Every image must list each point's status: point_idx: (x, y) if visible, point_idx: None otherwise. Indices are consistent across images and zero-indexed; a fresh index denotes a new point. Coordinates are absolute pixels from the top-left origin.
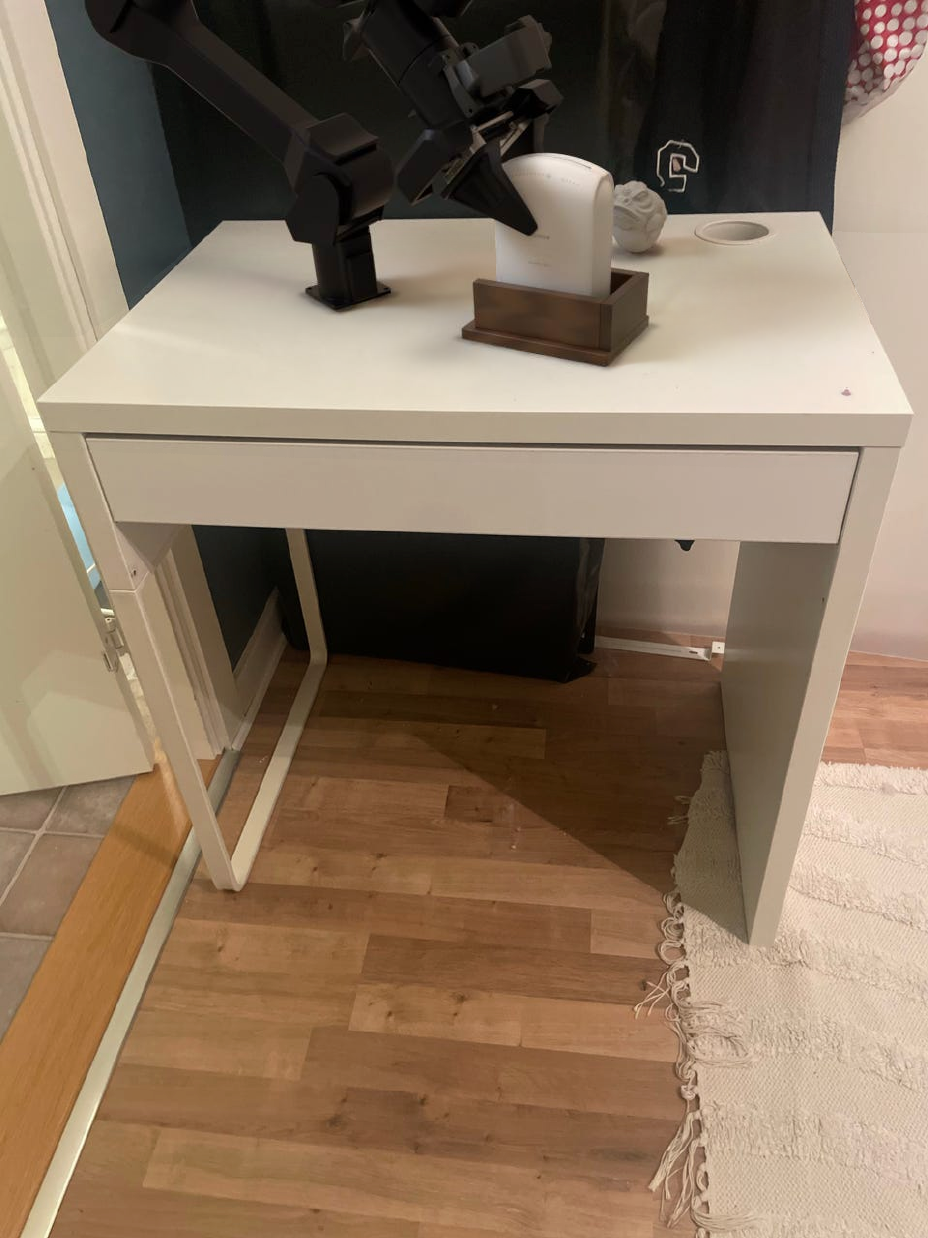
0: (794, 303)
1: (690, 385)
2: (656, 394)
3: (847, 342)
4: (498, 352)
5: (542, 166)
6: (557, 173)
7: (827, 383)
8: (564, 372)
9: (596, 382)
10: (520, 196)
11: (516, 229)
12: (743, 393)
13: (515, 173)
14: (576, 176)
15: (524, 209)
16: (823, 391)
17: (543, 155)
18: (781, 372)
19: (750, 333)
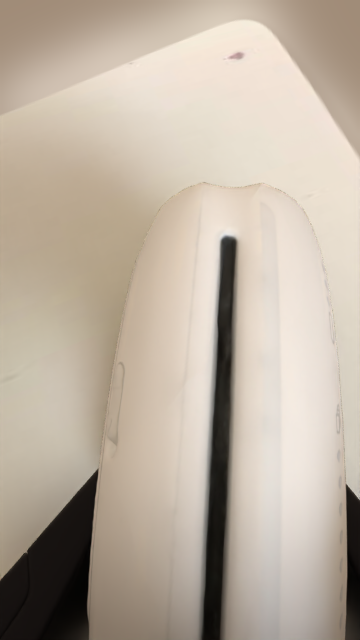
0: (18, 163)
1: (295, 184)
2: (339, 209)
3: (113, 88)
4: None
5: (320, 477)
6: (326, 369)
7: (222, 74)
8: (342, 341)
9: (347, 287)
10: (352, 548)
11: None
12: (286, 131)
13: None
14: (314, 272)
15: (351, 504)
16: (243, 72)
17: (195, 541)
18: (215, 117)
19: (123, 177)
